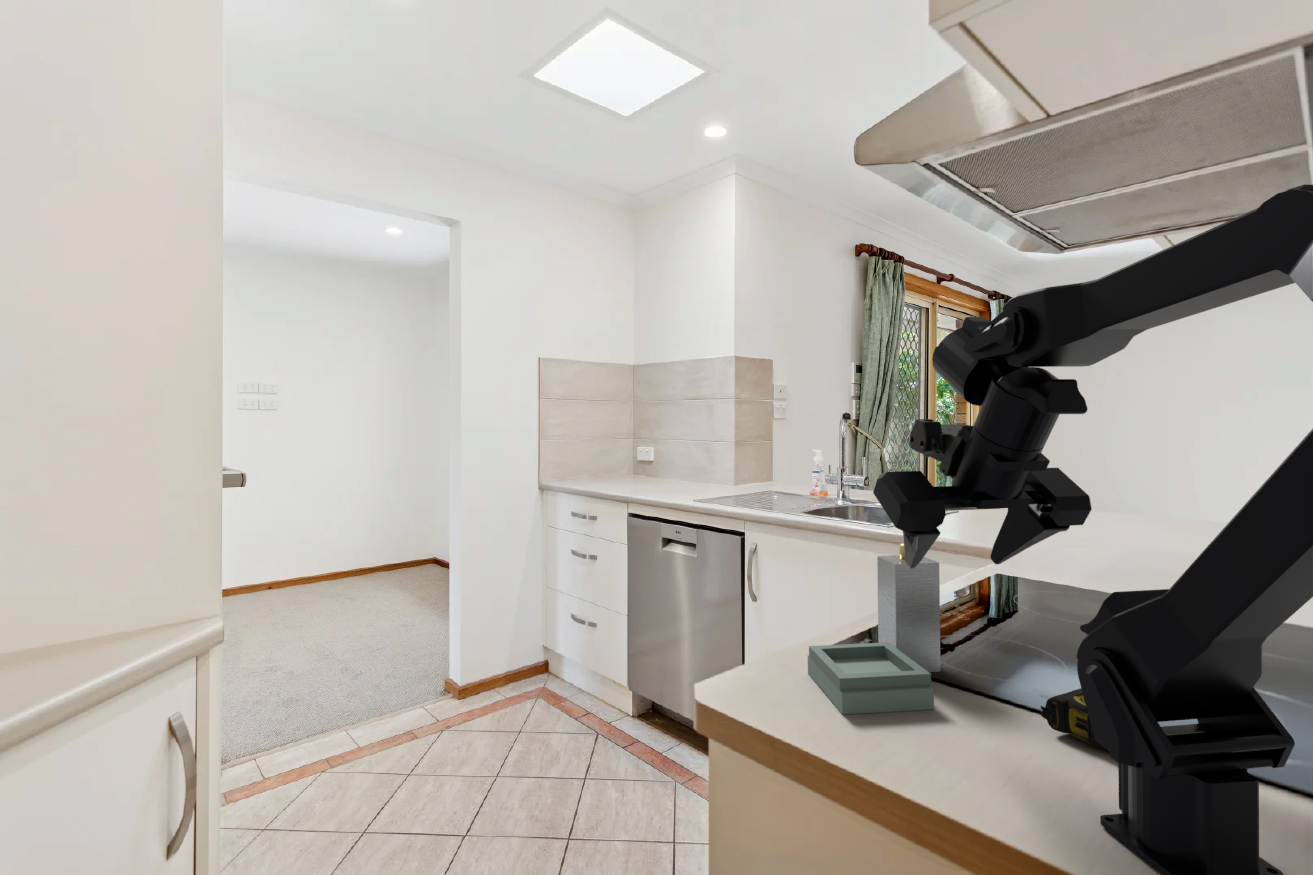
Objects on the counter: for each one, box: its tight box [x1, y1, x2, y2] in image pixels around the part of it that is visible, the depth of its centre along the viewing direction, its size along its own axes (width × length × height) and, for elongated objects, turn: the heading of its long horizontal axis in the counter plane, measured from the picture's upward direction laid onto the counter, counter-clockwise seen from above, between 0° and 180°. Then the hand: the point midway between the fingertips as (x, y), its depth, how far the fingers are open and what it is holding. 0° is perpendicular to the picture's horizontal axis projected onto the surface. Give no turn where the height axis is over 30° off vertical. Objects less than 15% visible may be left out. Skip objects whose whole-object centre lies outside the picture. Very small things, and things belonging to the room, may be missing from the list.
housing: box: [876, 542, 941, 673], centre depth 71 cm, size 4×5×14 cm
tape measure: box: [1040, 687, 1108, 750], centre depth 54 cm, size 7×7×4 cm
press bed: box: [807, 642, 935, 715], centre depth 65 cm, size 10×9×3 cm
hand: (952, 563), depth 63 cm, fingers open, 9 cm apart
